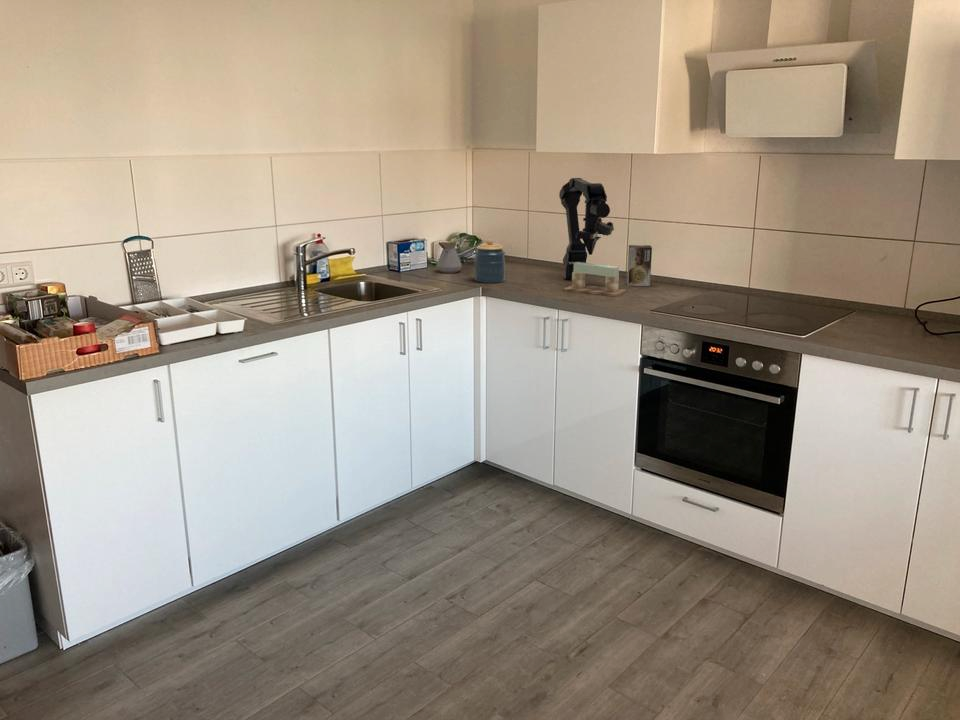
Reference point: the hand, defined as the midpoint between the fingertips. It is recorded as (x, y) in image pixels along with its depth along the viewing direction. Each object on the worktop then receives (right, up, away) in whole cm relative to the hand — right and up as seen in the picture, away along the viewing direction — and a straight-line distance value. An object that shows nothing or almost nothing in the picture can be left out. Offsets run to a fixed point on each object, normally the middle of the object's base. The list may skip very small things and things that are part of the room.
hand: (590, 254), depth 310 cm
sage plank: (+1, -9, -9) cm, 12 cm away
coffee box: (+21, -12, +8) cm, 25 cm away
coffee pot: (-60, -4, +31) cm, 67 cm away
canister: (-41, -9, +15) cm, 44 cm away
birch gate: (+1, -15, -7) cm, 17 cm away
